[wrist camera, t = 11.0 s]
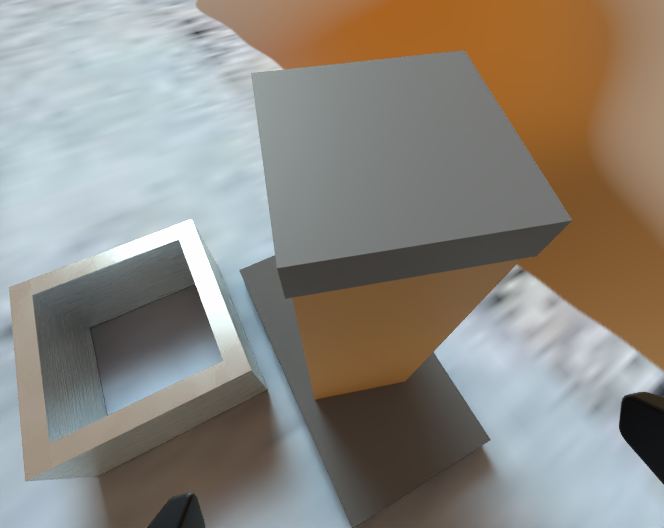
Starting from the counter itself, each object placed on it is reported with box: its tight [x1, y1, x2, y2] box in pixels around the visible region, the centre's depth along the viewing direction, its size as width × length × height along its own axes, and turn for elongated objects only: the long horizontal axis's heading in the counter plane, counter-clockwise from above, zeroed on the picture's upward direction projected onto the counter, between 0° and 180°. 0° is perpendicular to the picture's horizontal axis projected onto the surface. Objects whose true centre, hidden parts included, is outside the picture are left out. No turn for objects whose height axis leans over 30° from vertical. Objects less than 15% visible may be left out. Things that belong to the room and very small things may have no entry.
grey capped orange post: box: [251, 51, 572, 400], centre depth 11 cm, size 4×4×12 cm
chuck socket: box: [9, 219, 268, 481], centre depth 16 cm, size 8×8×4 cm
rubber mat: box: [239, 256, 490, 528], centre depth 17 cm, size 12×6×1 cm, turn 27°
